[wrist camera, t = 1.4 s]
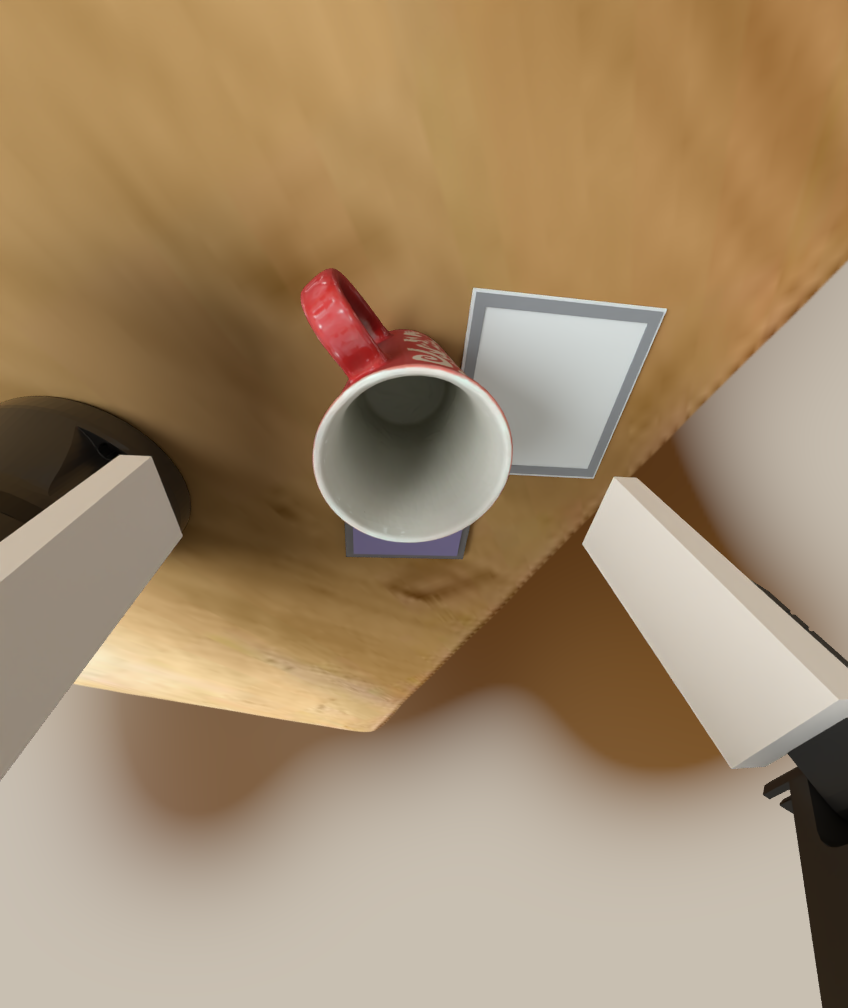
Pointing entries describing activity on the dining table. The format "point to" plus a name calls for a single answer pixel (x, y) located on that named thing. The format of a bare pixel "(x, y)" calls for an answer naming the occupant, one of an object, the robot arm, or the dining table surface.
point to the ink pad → (405, 546)
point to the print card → (557, 372)
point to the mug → (401, 426)
